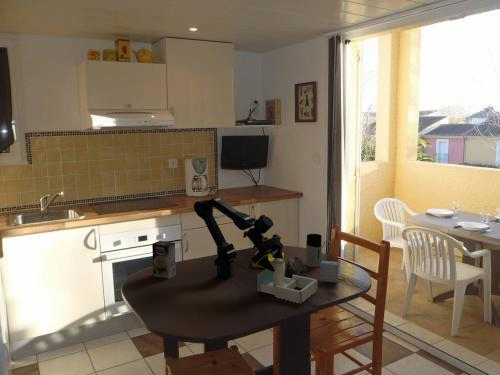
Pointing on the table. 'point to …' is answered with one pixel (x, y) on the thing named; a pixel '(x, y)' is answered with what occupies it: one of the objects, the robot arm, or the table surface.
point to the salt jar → (279, 272)
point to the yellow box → (268, 259)
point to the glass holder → (314, 250)
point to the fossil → (295, 267)
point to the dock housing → (294, 295)
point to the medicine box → (329, 271)
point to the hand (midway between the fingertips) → (279, 268)
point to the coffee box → (164, 259)
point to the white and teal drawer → (271, 282)
